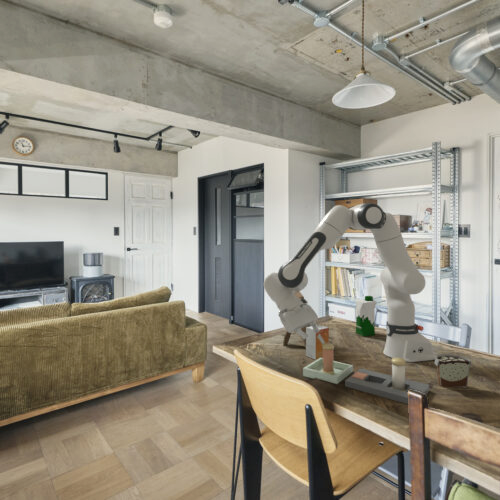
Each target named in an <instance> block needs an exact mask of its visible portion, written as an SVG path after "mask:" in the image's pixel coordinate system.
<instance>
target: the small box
mask: <svg viewBox="0 0 500 500" xmlns="http://www.w3.org/2000/svg"><path fill="white" fill-rule="evenodd" d="M317 327H318V329H319V330H320V331H319V332H318V333H315V332H314V331H313V330H314V329H313V327H312V326H310V327H306V334H307V335H308V337H307V338H306V347H305V356H306V357H308V358H310V359H312V360H314V361H316V360H317V359H319V358H323V348H322V344H323V343H330V341H329V339H330V332H329V331H330V327H328V326H326V325H325V326H324V325H322V324H317Z"/></svg>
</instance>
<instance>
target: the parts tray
mask: <svg viewBox="0 0 500 500" xmlns="http://www.w3.org/2000/svg"><path fill="white" fill-rule="evenodd" d="M322 369H323V358H319V359H317V360H314V361H312V362H311V363H309V364H307V365H306V366H304V367H303V368H302V376H303V377H306V378H309V379H312V380H315V379H317V380H321V381H325V382H329V383H332V384H335V385H339V383H341V382H342V381H344V380H345V379H346V378H347V377H348V376H350V375H351V374H353V372H354V365H353V364H348V363H345V362H339V361H336V360H334V374H333V375H331V374H327V373H323V372H322Z"/></svg>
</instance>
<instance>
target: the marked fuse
mask: <svg viewBox="0 0 500 500" xmlns="http://www.w3.org/2000/svg"><path fill="white" fill-rule="evenodd" d="M322 348H323V369H322V372H323V373H327V374H331V375H333V374H334V361H335V360H334V353H335V352H334V351H335V350H334V349H335V344H334V343H331V342H329V343H323V344H322Z"/></svg>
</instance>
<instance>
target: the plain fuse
mask: <svg viewBox="0 0 500 500" xmlns="http://www.w3.org/2000/svg"><path fill="white" fill-rule="evenodd" d="M406 362H407V361H406V360H405V359H403V358H398V357H395V358H391V368H392V369H391V376H392V387H391V388H394V389H398V390H401V391H405V379H406V365H407V363H406Z"/></svg>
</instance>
